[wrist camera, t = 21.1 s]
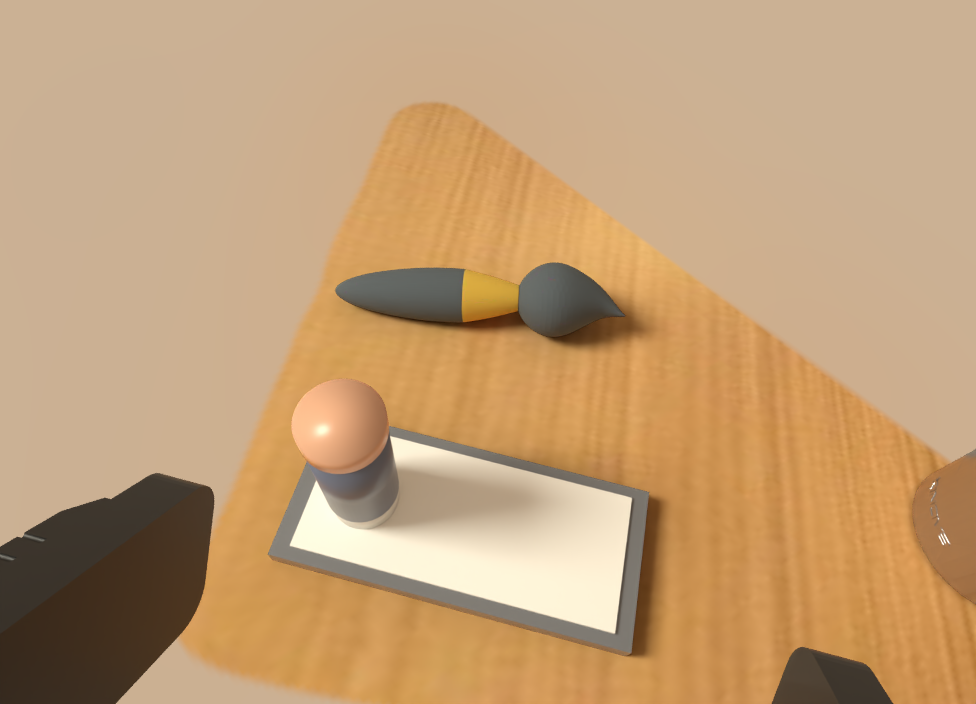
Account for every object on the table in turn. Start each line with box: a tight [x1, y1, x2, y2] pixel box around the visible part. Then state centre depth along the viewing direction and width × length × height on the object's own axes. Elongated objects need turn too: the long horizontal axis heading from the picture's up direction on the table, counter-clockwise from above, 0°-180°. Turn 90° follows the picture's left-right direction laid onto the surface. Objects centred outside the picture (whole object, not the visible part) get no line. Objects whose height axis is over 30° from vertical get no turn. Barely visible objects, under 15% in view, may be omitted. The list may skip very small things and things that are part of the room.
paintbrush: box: [335, 263, 625, 337], centre depth 43 cm, size 20×5×5 cm, turn 91°
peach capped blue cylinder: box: [292, 379, 399, 529], centre depth 32 cm, size 4×4×10 cm
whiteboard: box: [268, 426, 649, 656], centre depth 37 cm, size 20×9×1 cm, turn 76°
